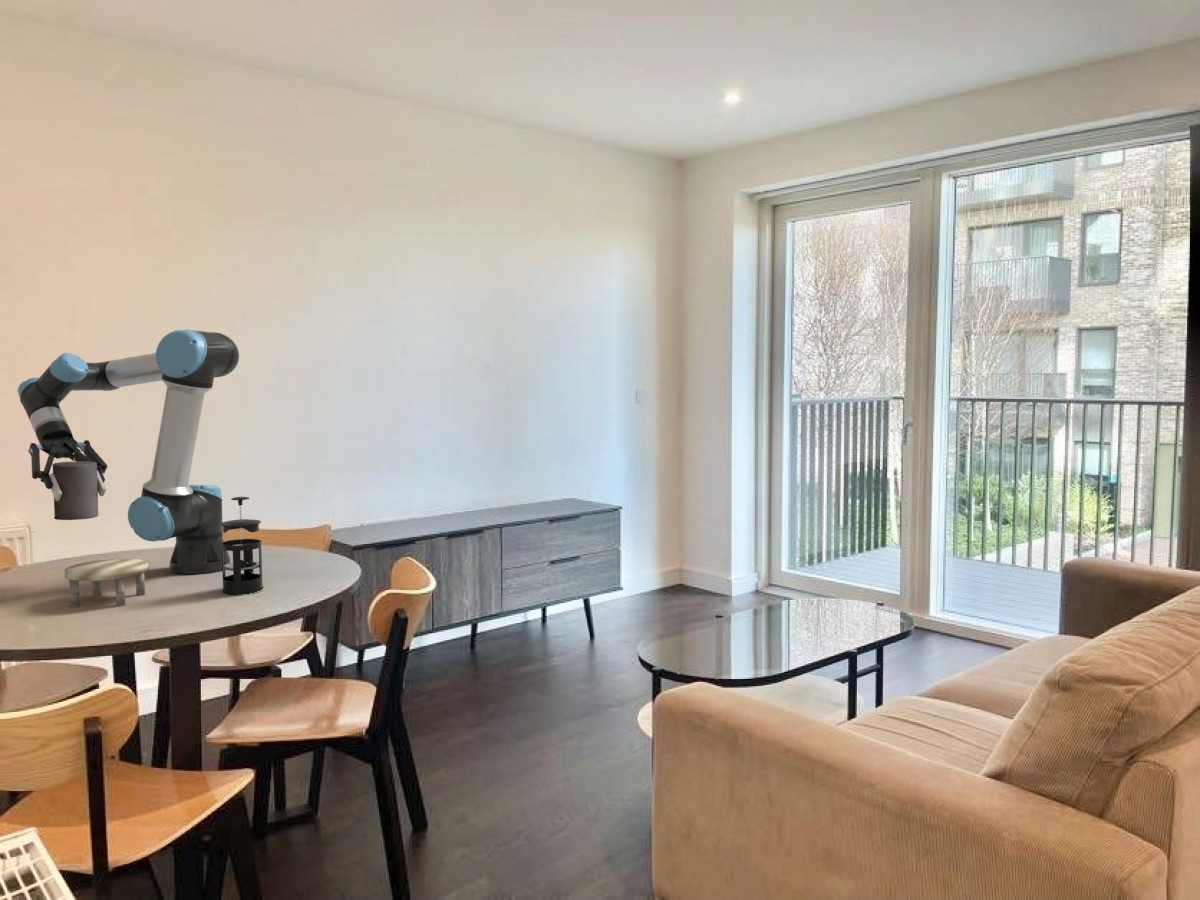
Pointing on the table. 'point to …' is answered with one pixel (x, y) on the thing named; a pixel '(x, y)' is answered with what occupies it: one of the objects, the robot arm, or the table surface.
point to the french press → (242, 558)
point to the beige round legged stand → (106, 576)
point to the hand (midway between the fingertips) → (81, 494)
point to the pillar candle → (76, 490)
